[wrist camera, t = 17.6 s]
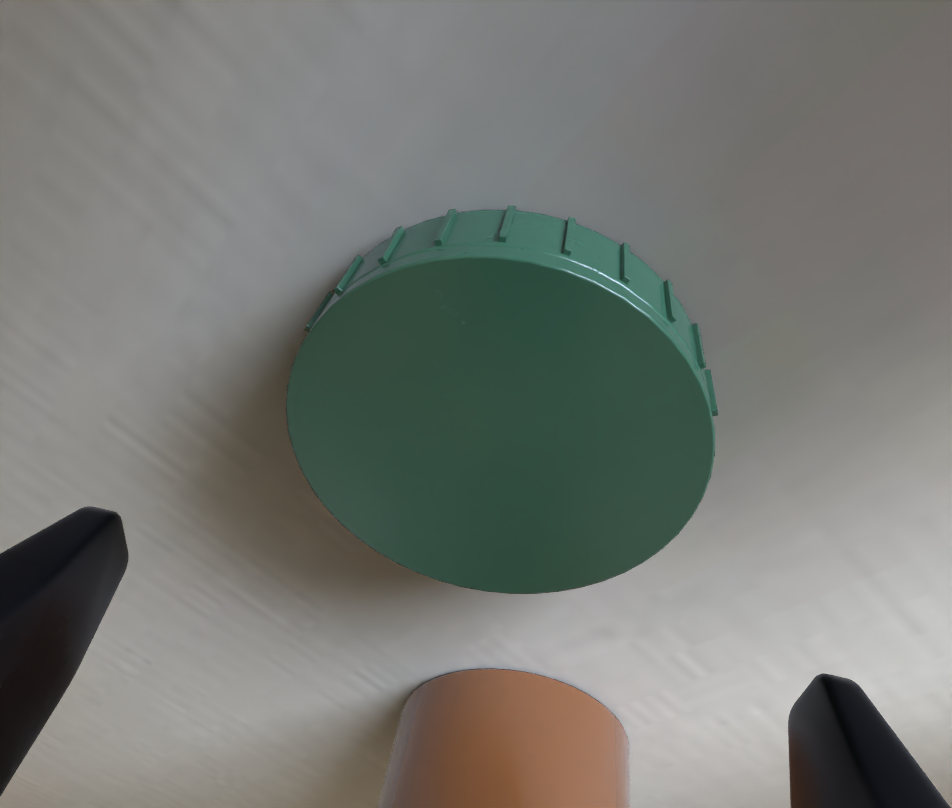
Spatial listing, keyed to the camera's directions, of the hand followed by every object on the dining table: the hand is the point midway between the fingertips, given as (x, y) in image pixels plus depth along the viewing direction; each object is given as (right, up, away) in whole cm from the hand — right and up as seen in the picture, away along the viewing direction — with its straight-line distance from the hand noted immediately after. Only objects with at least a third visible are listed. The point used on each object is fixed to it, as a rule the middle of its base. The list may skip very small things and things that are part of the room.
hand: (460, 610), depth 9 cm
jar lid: (0, +2, +2) cm, 3 cm away
